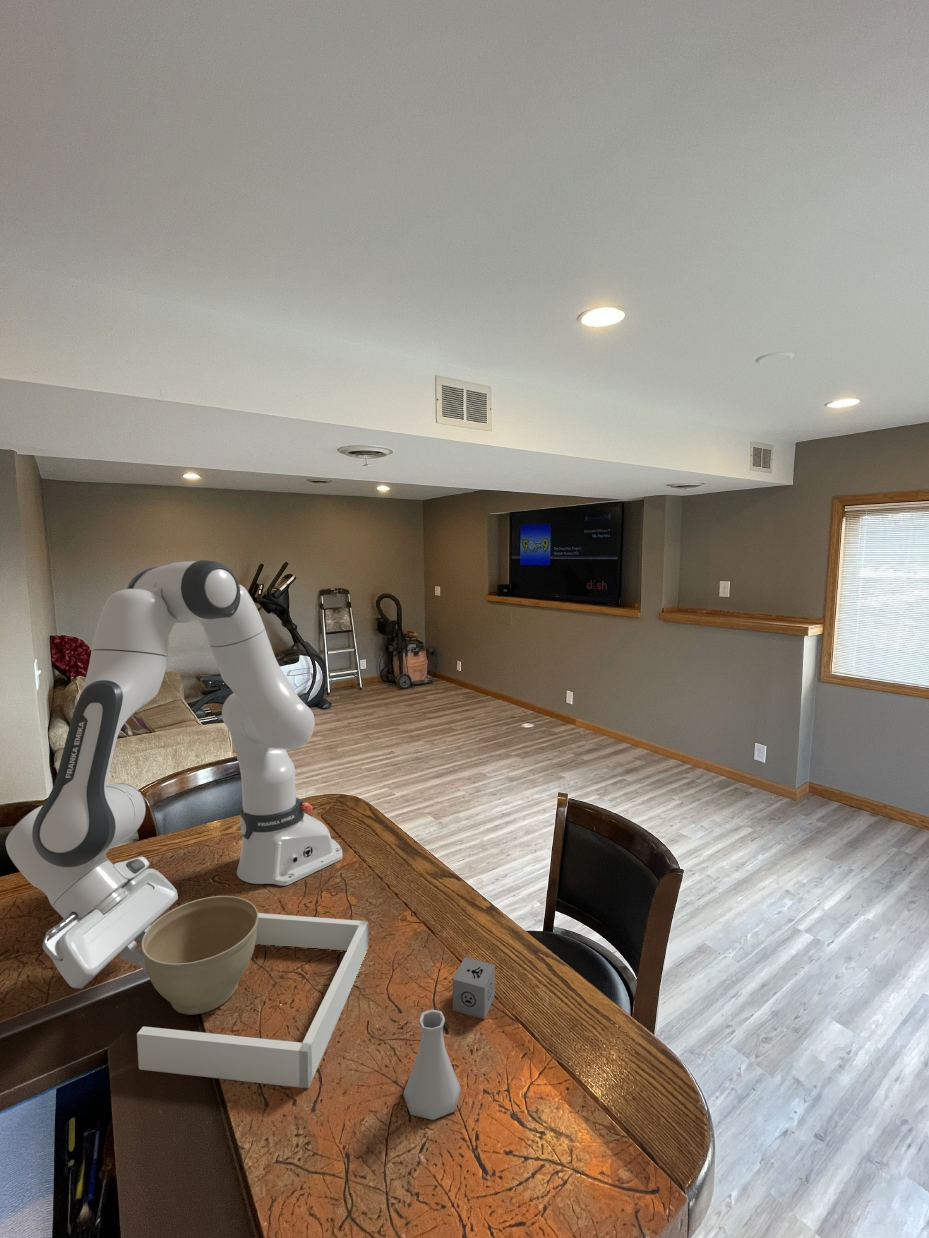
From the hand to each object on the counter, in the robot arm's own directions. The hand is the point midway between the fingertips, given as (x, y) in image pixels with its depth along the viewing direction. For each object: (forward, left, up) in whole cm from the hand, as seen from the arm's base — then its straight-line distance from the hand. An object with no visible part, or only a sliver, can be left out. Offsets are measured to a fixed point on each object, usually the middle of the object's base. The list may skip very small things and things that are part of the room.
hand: (155, 960), depth 87 cm
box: (-13, +13, -5) cm, 19 cm away
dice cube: (-37, +33, -5) cm, 50 cm away
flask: (-24, +41, -5) cm, 47 cm away
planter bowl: (-6, +5, -5) cm, 9 cm away
